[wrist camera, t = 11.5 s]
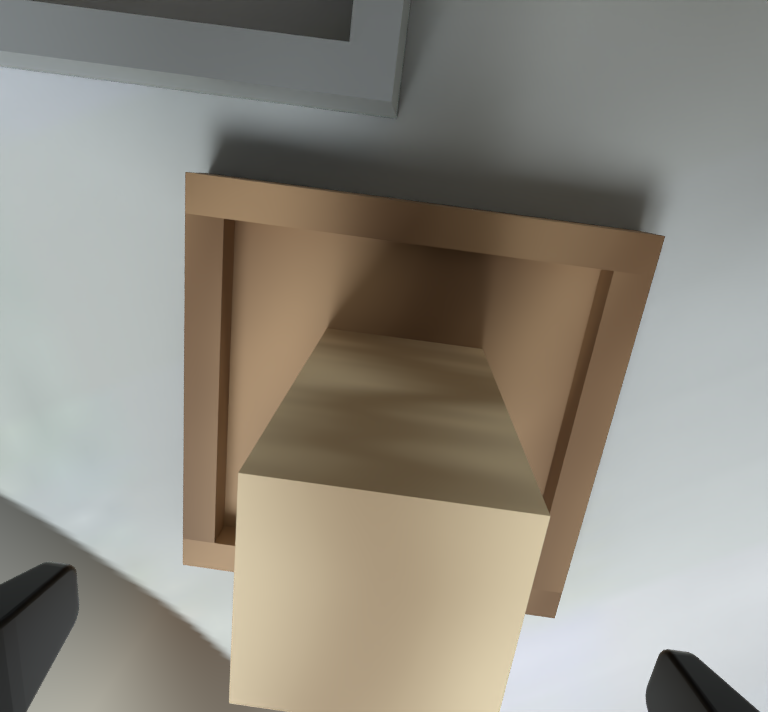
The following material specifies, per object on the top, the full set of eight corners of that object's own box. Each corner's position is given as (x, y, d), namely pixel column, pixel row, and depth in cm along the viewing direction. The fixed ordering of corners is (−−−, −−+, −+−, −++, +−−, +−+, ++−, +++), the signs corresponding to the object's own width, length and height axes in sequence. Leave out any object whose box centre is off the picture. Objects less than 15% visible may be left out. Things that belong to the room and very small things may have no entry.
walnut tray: (640, 231, 14) (665, 236, 13) (543, 584, 18) (554, 618, 17) (208, 173, 15) (185, 172, 13) (200, 535, 18) (182, 564, 17)
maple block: (482, 349, 15) (550, 516, 8) (456, 485, 17) (491, 741, 9) (326, 328, 15) (238, 472, 8) (314, 465, 17) (229, 702, 9)
